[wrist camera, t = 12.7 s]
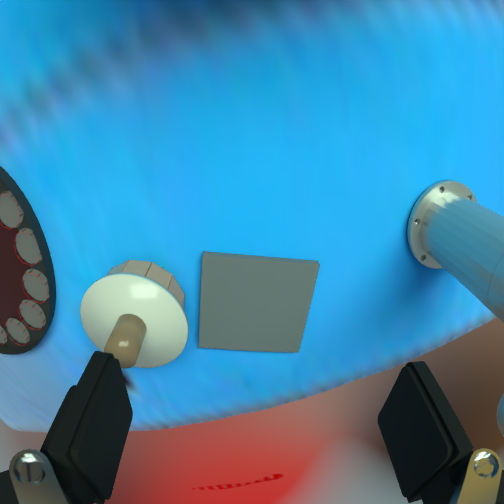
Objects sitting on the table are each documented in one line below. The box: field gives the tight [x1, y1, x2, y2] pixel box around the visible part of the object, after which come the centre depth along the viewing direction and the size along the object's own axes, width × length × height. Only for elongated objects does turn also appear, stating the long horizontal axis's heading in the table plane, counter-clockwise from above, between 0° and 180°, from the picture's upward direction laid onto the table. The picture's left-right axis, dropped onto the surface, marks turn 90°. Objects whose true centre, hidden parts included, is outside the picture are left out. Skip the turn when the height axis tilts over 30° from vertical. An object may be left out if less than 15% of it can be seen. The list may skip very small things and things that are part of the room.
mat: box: [199, 251, 320, 352], centre depth 41 cm, size 14×14×1 cm
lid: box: [81, 273, 188, 368], centre depth 32 cm, size 13×13×6 cm
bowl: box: [107, 260, 185, 309], centre depth 37 cm, size 11×11×6 cm
